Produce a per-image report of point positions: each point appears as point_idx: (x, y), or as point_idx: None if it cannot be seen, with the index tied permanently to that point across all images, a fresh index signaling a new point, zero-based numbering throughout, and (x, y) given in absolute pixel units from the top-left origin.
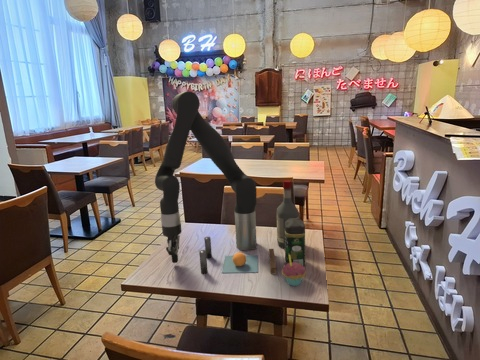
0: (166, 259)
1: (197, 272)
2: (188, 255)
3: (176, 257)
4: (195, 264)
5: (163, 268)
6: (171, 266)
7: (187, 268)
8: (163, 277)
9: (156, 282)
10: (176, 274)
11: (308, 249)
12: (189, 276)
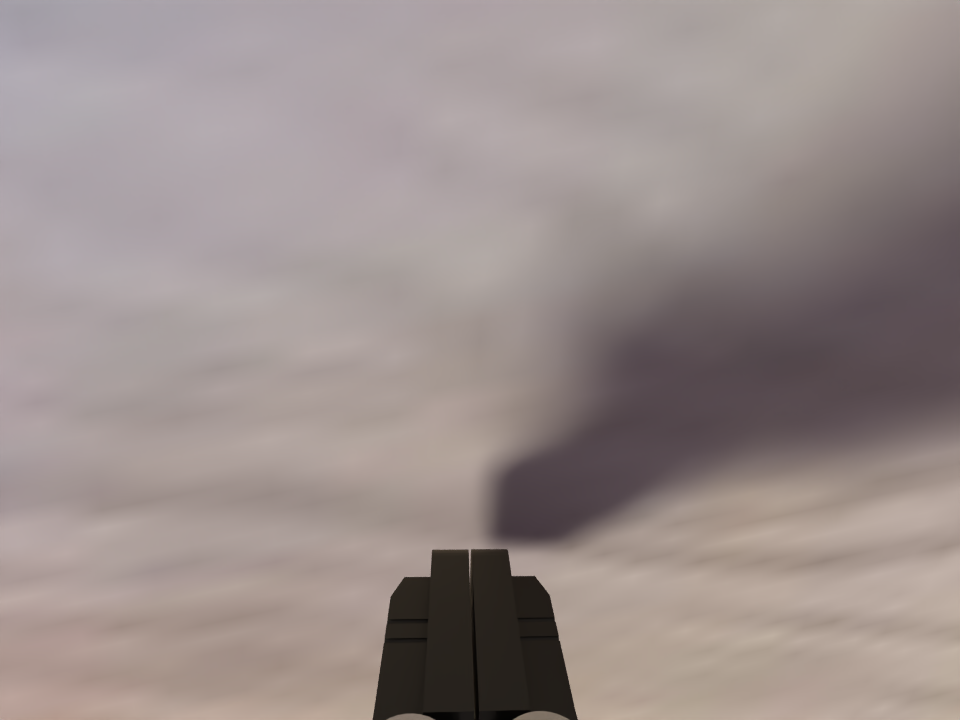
0: (256, 716)
1: (829, 35)
2: (43, 382)
3: (518, 642)
4: (457, 145)
5: None
6: None
7: (615, 297)
8: (841, 621)
9: (954, 672)
10: (800, 454)
11: None
12: (944, 197)
